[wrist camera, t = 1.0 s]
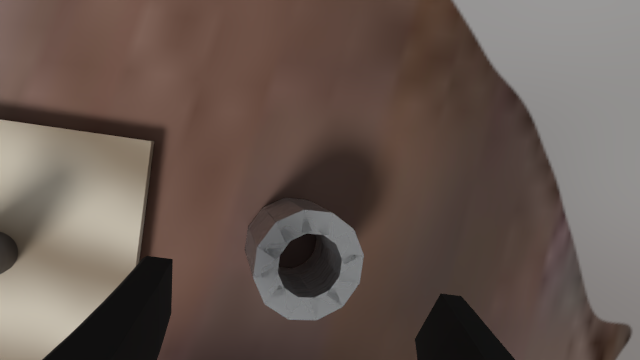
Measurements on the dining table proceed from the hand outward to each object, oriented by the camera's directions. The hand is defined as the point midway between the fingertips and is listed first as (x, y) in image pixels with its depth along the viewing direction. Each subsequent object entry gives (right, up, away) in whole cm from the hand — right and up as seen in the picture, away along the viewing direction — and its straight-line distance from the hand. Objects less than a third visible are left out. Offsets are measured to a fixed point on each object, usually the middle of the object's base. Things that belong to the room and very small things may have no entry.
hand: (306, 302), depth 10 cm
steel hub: (-1, -1, +13) cm, 13 cm away
